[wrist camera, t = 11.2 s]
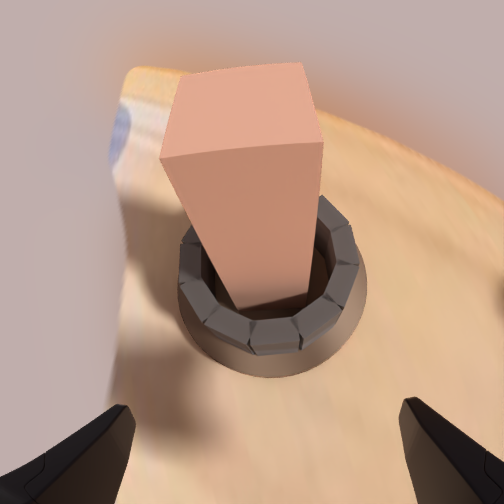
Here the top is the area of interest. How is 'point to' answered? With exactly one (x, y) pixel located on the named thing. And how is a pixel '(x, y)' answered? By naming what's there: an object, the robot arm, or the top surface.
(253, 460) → the top surface
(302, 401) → the top surface
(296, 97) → the terracotta peg
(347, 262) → the socket
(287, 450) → the top surface
